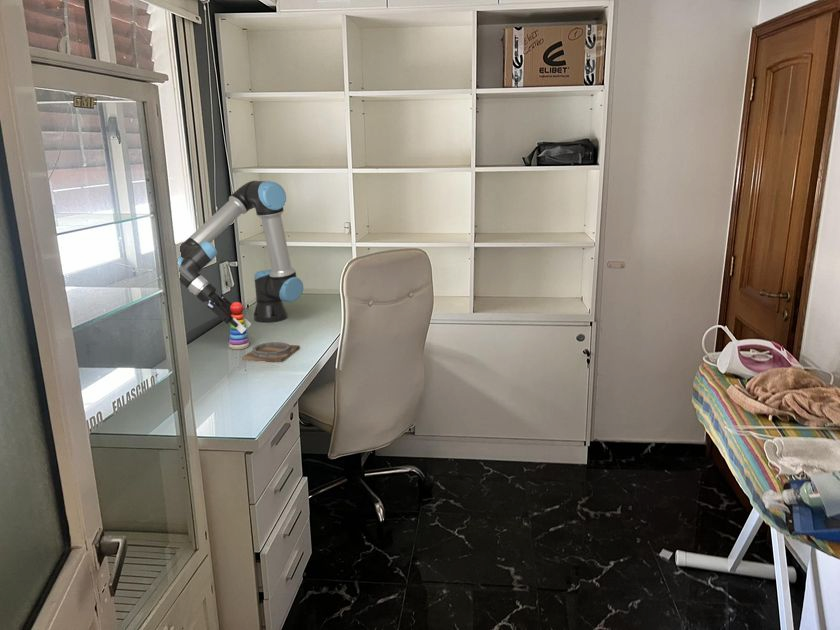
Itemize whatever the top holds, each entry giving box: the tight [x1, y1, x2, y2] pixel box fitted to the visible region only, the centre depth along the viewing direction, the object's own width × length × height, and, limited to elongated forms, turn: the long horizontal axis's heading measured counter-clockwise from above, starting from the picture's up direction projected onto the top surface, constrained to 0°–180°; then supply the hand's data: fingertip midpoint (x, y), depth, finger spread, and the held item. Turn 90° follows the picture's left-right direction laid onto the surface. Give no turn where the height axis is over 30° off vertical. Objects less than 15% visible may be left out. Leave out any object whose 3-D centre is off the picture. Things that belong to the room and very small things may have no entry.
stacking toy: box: [228, 301, 250, 351], centre depth 257 cm, size 8×8×19 cm
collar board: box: [241, 341, 301, 363], centre depth 250 cm, size 18×16×3 cm
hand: (246, 328), depth 258 cm, fingers closed on stacking toy, 6 cm apart
